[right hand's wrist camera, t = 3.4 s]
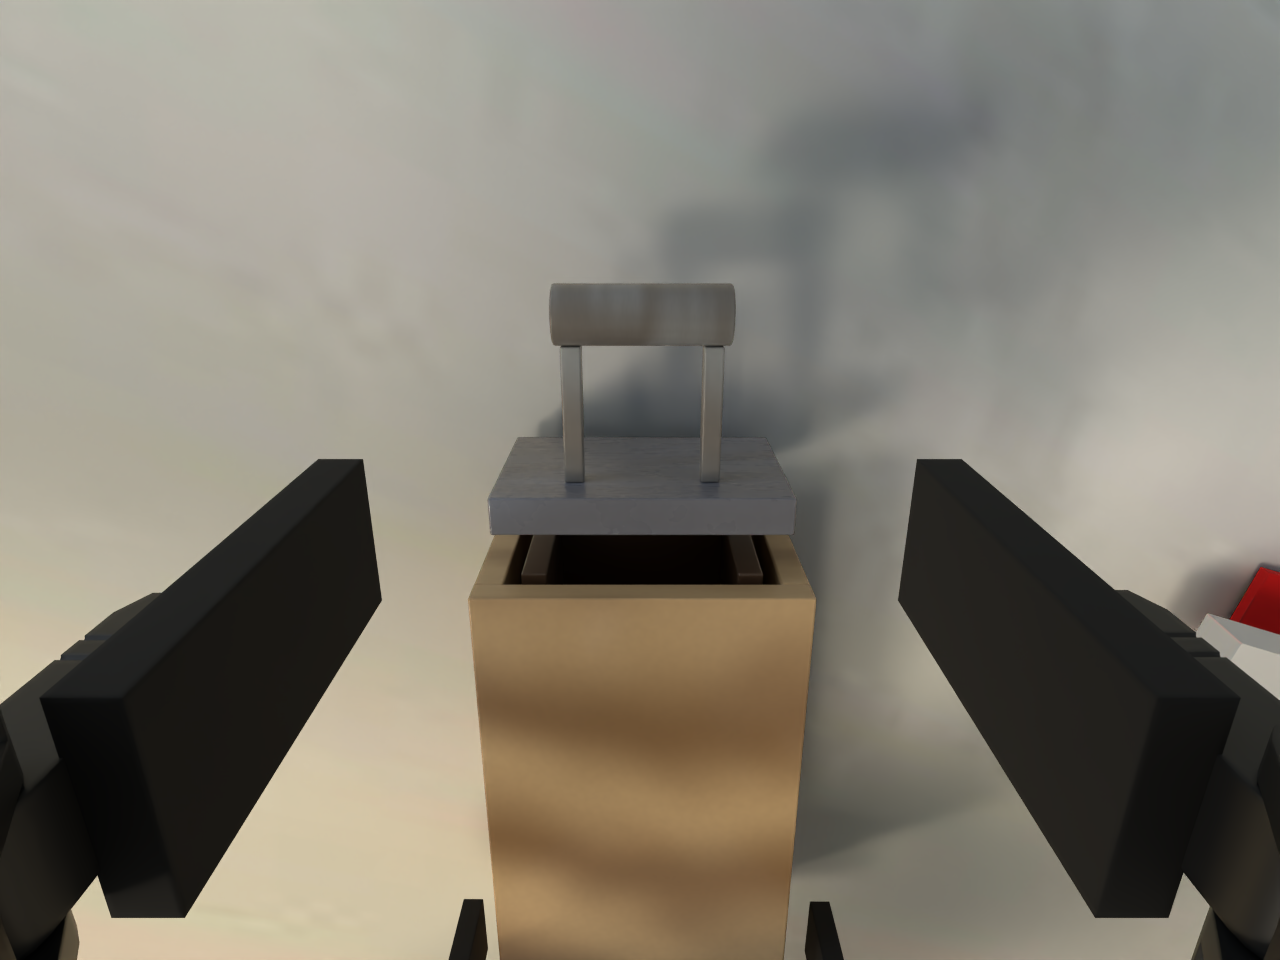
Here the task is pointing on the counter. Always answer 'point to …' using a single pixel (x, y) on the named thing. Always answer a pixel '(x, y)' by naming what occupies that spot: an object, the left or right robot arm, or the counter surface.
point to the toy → (1251, 631)
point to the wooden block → (642, 759)
